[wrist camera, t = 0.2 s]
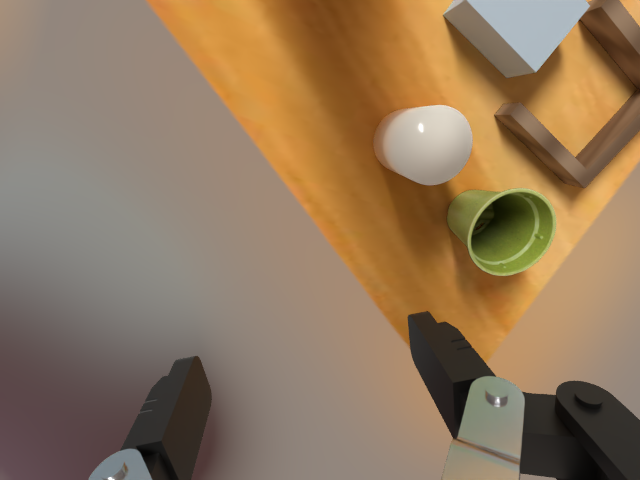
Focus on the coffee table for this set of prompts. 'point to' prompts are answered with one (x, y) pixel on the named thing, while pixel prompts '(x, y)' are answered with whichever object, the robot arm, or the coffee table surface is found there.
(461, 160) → the white capsule shape
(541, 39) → the carton
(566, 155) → the display bay
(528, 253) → the plant pot
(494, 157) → the coffee table surface
